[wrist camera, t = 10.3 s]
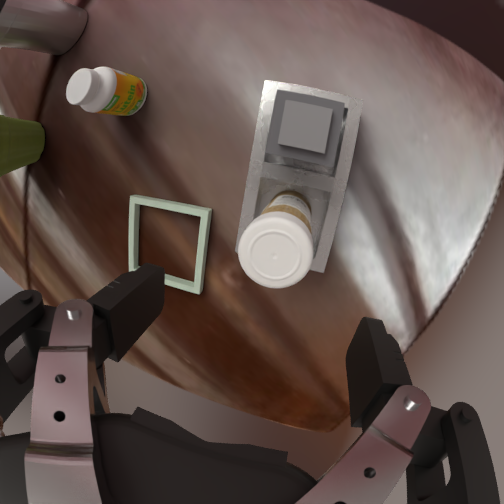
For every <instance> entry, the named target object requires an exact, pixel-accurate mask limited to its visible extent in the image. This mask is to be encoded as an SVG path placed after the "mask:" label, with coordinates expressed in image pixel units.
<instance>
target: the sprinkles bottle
mask: <svg viewBox="0 0 504 504" xmlns="http://www.w3.org/2000/svg"><path fill="white" fill-rule="evenodd" d="M311 214H312V213H311V206H310V203H309V201H308V200H307V198H306V197H304V196H303V195H302V194H300V193H299V192H296V191H291V190H288V191H282V192H280V193H278V194H277V195H275V196H274V198H273V199H272V200H271V202H270V203H269V204H268V205H267V206H266V207H265V209H264V210H263V212H262V213H261V215H260V216H258V217H257V218H256V219H254V220H253V221H252V222H251V223H250V224H249V226H248V227H247V228H246V230H245V231H244V233H243V234H242V236H241V239H240V242H239V246H238V256H239V261H240V264H241V266H242V268H243V270H244V271H245V273H246V274H247V275H248V276H249V277H250V278H251V279H252V280H253V281H255V282H256V283H258V284H260V285H262V286H265V287H269V288H285V287H289V286H292V285H294V284H296V283H298V282H299V281H300V280H301V279H303V278H304V277H305V275H306V274H307V273H308V271H309V269H310V267H311V264H312V260H313V239H312V236H311V233H312V229H311Z"/></svg>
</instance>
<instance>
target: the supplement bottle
mask: <svg viewBox="0 0 504 504" xmlns="http://www.w3.org/2000/svg"><path fill="white" fill-rule="evenodd" d="M146 96H147V87H146V84H145V82H144V81H143V80H142V79H140V78H138V77H136V76H133V75H130V74H127V73H124V72H121V71H118V70H115V69H112V68H109V67H98V68H95V69H88V68H82V69H79V70H78V71H76V72H75V73H74V74H73V76H72V77H71V79H70V80H69V82H68V85H67V89H66V97H67V100H68V102H69V103H70V104H73V105H80V106H81V107H82V108H83V109H84V110H85V111H87V112H92V113H102V114H112V115H120V116H129V115H132V114H134V113H136V112H137V111H138V110H139V109H140V108H141V107H142V106H143V104H144V102H145V100H146Z"/></svg>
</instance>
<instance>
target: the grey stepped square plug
mask: <svg viewBox="0 0 504 504" xmlns="http://www.w3.org/2000/svg"><path fill="white" fill-rule="evenodd" d="M344 106H345V103H343V102H339V101H335V100H330V99H326V98H321V97H317V96H312V95H307V94H302V93H296V92H290V91H284V90H278V89H277V92H276V98H275V103H274V108H273V114H272V119H271V125H270V130H269V136H268V141H267V147H266V152H265V153H268V154H274V155H279V156H284V157H289V158H294V159H299V160H303V161H308V162H312V163H316V164H321V165H325V166H329V167H333V165H334V160H335V155H336V150H337V145H338V140H339V134H340V129H341V123H342V118H343V112H344Z"/></svg>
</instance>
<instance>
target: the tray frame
mask: <svg viewBox="0 0 504 504" xmlns="http://www.w3.org/2000/svg"><path fill="white" fill-rule="evenodd" d="M140 204H141V205H146V206H151V207H156V208H161V209H166V210H171V211H176V212H181V213H186V214H191V215H195V216H200V217H201V221H200V230H199V239H198V248H197V258H196V269H195V280H194V282H192V281H188V280H184V279H181V278H178V277H174V276H171V275H167V274H165V284H166V285H169V286H172V287H175V288H179V289H182V290H186V291H189V292H192V293H196V294H200V293H201V292H202V291H203V283H204V273H205V264H206V255H207V246H208V238H209V230H210V222H211V215H212V209H210V208H205V207H200V206H195V205H190V204H184V203H179V202H174V201H169V200H163V199H158V198H152V197H147V196H141V195H132V196H130V208H129V272H130V271H135V270H136V269H138V268H139V267H141V266H138V240H139V212H140Z"/></svg>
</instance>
